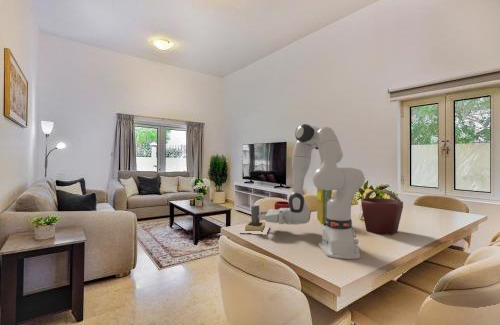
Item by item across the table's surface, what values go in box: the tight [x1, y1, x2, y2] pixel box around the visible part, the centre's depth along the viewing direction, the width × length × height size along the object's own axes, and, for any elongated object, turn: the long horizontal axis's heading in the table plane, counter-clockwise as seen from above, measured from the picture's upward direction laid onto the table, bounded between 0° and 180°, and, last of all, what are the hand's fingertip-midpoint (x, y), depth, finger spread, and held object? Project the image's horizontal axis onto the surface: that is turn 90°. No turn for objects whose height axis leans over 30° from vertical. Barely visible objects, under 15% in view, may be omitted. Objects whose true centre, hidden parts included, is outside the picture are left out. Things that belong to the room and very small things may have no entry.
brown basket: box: [360, 189, 404, 236], centre depth 150 cm, size 24×22×25 cm
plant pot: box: [274, 200, 290, 210], centre depth 183 cm, size 13×13×12 cm
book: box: [316, 188, 333, 225], centre depth 174 cm, size 17×7×25 cm, turn 179°
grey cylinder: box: [250, 204, 261, 226], centre depth 151 cm, size 5×5×14 cm
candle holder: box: [244, 221, 266, 232], centre depth 151 cm, size 16×16×4 cm
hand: (259, 214), depth 151 cm, fingers open, 8 cm apart
